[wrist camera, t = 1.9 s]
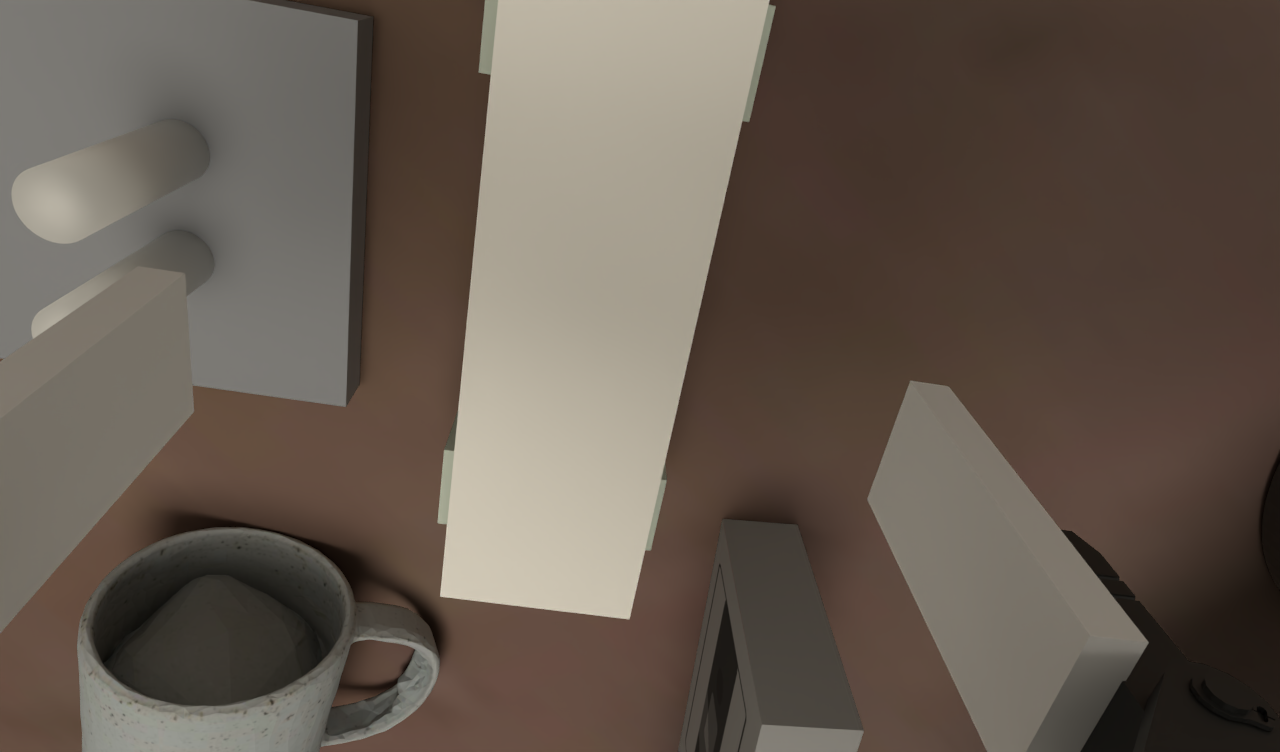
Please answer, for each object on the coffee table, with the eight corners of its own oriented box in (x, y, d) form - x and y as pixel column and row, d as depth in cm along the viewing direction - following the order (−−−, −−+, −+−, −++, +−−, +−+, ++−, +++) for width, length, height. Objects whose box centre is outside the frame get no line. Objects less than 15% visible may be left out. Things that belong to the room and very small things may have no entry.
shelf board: (519, -90, 17) (507, -96, 15) (761, -40, 17) (778, -40, 16) (453, 548, 24) (440, 596, 22) (628, 570, 24) (629, 619, 23)
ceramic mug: (145, 673, 32) (23, 869, 25) (157, 503, 29) (19, 675, 22) (422, 722, 34) (378, 917, 27) (464, 567, 31) (426, 745, 24)
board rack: (743, -4, 22) (776, 6, 18) (645, 457, 28) (650, 550, 24) (516, -50, 22) (489, -51, 17) (466, 432, 28) (437, 523, 23)
